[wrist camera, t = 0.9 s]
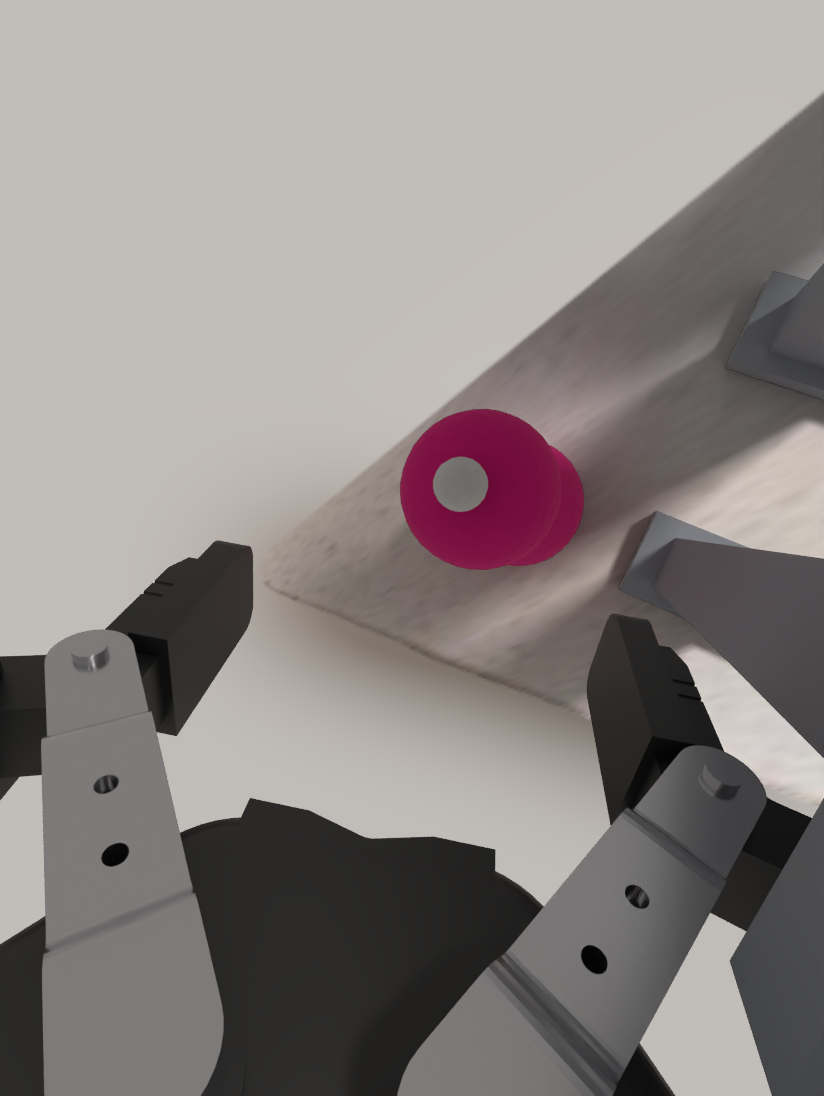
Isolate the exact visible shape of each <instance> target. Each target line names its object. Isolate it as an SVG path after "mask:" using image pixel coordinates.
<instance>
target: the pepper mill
mask: <svg viewBox="0 0 824 1096" xmlns="http://www.w3.org/2000/svg"><path fill="white" fill-rule="evenodd" d="M400 496H401V505H402V508H403V512H404V515H405V519H406V522H407V524H408V526H409V527H410V529H411V531H412V533H413V535H414V536H415V537H416V538H417V540H418V541H419V542H420V544H421V545H422V546H424V547H425V548H426V549H427V550H428V551H429V552H431V553H432V554H433V555H434V556H436V557H438V558H439V559H441V560H443V561H445V562H447V563H450V564H452V565H454V566H457V567H462V568H466V569H478V570H487V569H493V568H498V567H502V566H506V565H512V566H526V565H531V564H536V563H539V562H542V561H545V560H547V559H548V558H550V557H552V556H554V555H555V554H557V553H558V552H559V551H561V550H562V549H563V548H564V547H565V546H566V545H567V544H568V543H569V541H570V540H571V539H572V537H573V536H574V535H575V533H576V531H577V529H578V527H579V525H580V521H581V518H582V515H583V508H584V493H583V488H582V483H581V481H580V478H579V475H578V473H577V472H576V470H575V468H574V467H573V465H572V463H571V462H570V461H569V460H568V459H567V458H566V457H565V456H564V455H563V454H562V453H561V452H559V451H558V450H557V449H555V448H554V447H552V446H550V445H548V443H547V442H546V441H545V439H544V438H543V437H542V436H541V435H540V434H539V433H538V432H537V431H536V430H535V429H534V428H533V427H532V426H530V425H529V424H528V423H526V422H525V421H523V420H521V419H520V418H518V417H515V416H513V415H510V414H507V413H504V412H501V411H497V410H490V409H474V410H468V411H463V412H459V413H456V414H453V415H450V416H448V417H445V418H443V419H442V420H440V421H439V422H437V423H435V424H434V425H432V426H431V427H430V428H429V429H428V430H427V431H426V432H425V433H424V434H423V435H422V436H421V437H420V438H419V440H418V441H417V442H416V443H415V445H414V446H413V448H412V450H411V452H410V454H409V456H408V458H407V460H406V463H405V466H404V469H403V472H402V478H401V483H400Z"/></svg>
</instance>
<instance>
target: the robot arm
mask: <svg viewBox="0 0 824 1096" xmlns="http://www.w3.org/2000/svg"><path fill="white" fill-rule="evenodd" d="M252 610H253V554H252V549H251V547H250V546H245V545H239V544H234V543H229V542H223V541H215V542H214V543H213V544H212V545H211V546H210V547H209V548H208V549H207V550H206V551H205V552H204V553H203V554H202V555H201V556H200V557H199V558H198V559H195V558H190V557H189V558H187V559H185V560H183V561H181V562H178V563H176V564H174V565H172V566H170V567H168V568H167V569H166V570H165V571H164V572H163V573H162V574H161V575H160V576H159V577H158V578H157V579H156V580H155V583H152V584H151V585H150V586H149V587H148V588H147V589H146V590H145V591H144V594H141V595H140V596H139V597H138V598H137V599H136V600H135V601H134V602H133V603H132V604H130V605H129V607H127V608H126V609H125V610H124V611H123V612H122V613H121V614H120V615H119V616H118V617H117V618H116V619H115V620H114V621H113V622H112V623H111V624H110V625H109V626H108V627H107V628H106V629H105V630H91V631H86V632H81V633H77V634H75V635H72V636H69V637H67V638H65V639H63V640H62V641H60V642H58V643H57V644H56V645H54V646H53V647H52V648H51V649H50V651H49V652H48V654H47V655H35V656H7V657H6V656H4V657H0V800H1V799H2V797H3V796H4V795H5V794H6V793H7V791H8V790H9V789H10V788H11V786H12V785H13V784H14V783H15V781H16V780H17V779H18V778H19V777H21V776H34V775H42V799H43V838H44V873H45V874H44V877H45V913H46V916H45V917H43V918H41V919H40V920H38V921H37V922H35V923H33V924H32V925H30V926H29V927H27V928H25V929H24V930H22V931H21V932H19V933H18V934H16V935H14V936H13V937H11V938H10V939H8V940H7V941H5V942H3V943H2V944H0V1096H675V1095H674V1094H673V1092H672V1090H671V1089H670V1087H669V1086H668V1084H667V1083H666V1081H665V1080H664V1078H663V1077H662V1075H661V1074H660V1072H659V1071H658V1070H657V1068H656V1067H655V1065H654V1064H653V1062H652V1061H651V1059H650V1058H649V1056H648V1055H647V1053H646V1052H645V1051H644V1049H643V1047H642V1046H641V1045H640V1041H641V1039H642V1037H643V1035H644V1033H645V1032H646V1030H647V1028H648V1026H649V1024H650V1022H651V1020H652V1019H653V1017H654V1015H655V1013H656V1011H657V1009H658V1008H659V1006H660V1004H661V1002H662V1000H663V998H664V997H665V995H666V993H667V991H668V989H669V987H670V985H671V984H672V982H673V980H674V978H675V976H676V974H677V972H678V971H679V969H680V967H681V965H682V963H683V961H684V960H685V958H686V956H687V954H688V952H689V950H690V949H691V947H692V945H693V943H694V941H695V939H696V938H697V936H698V934H699V932H700V930H701V928H702V926H703V925H704V923H705V921H706V919H707V917H708V915H709V914H710V913H712V914H714V915H716V916H718V917H720V918H722V919H724V920H726V921H727V922H730V923H731V924H733V925H735V926H737V927H739V928H741V929H743V930H745V931H747V930H748V928H749V927H750V925H751V923H752V921H753V920H754V918H755V916H756V915H757V913H758V911H759V909H760V908H761V906H762V904H763V902H764V901H765V899H766V897H767V896H768V894H769V892H770V890H771V889H772V887H773V885H774V883H775V882H776V880H777V878H778V877H779V875H780V873H781V871H782V870H783V868H784V866H785V864H786V863H787V861H788V859H789V858H790V856H791V854H792V852H793V851H794V849H795V847H796V845H797V844H798V842H799V840H800V839H801V837H802V835H803V833H804V832H805V830H806V828H807V826H808V825H809V823H810V821H811V820H812V818H811V817H808V816H806V815H804V814H801V813H799V812H797V811H795V810H792V809H790V808H788V807H785V806H783V805H781V804H779V803H776V802H774V801H772V800H770V799H769V798H767V797H766V792H765V789H764V787H763V785H762V783H761V782H760V780H759V779H758V777H757V776H756V775H755V774H754V773H753V772H752V771H751V770H750V769H749V768H748V767H747V766H746V765H745V764H744V763H742V762H741V761H739V760H738V759H737V758H735V757H733V756H731V755H730V754H728V753H726V752H724V750H723V748H722V745H721V743H720V741H719V738H718V736H717V734H716V731H715V729H714V727H713V724H712V722H711V720H710V717H709V715H708V713H707V710H706V708H705V706H704V703H703V702H701V697H700V694H699V692H698V690H697V687H694V684H695V683H694V680H693V678H692V676H691V673H690V671H689V669H688V666H687V665H686V664H685V663H684V661H683V660H682V659H681V658H680V657H679V656H678V655H677V654H676V653H675V652H674V651H673V650H672V649H671V648H670V647H665V646H659V645H658V642H657V639H656V637H655V634H654V631H653V629H652V626H651V624H650V622H649V621H648V620H645V619H639V618H634V617H628V616H623V615H617V614H612V615H610V617H609V618H608V620H607V623H606V625H605V628H604V631H603V634H602V637H601V639H600V642H599V645H598V648H597V651H596V654H595V656H594V659H593V662H592V665H591V668H590V671H589V675H588V681H587V699H588V704H589V710H590V715H591V721H592V726H593V731H594V737H595V742H596V747H597V753H598V758H599V764H600V770H601V775H602V780H603V786H604V791H605V796H606V803H607V808H608V814H609V818H610V825H611V827H610V828H609V829H608V830H607V831H606V833H605V834H604V835H603V836H602V837H601V838H600V840H599V841H598V842H597V843H596V845H595V846H594V847H593V848H592V849H591V851H590V852H589V853H588V854H587V855H586V857H585V858H584V859H583V860H582V861H581V863H580V864H579V865H578V866H577V867H576V869H575V870H574V871H573V873H572V874H571V875H570V876H569V877H568V878H567V879H566V881H565V882H564V883H563V884H562V886H561V887H560V888H559V889H558V890H557V892H556V893H555V894H554V895H553V897H552V898H551V899H550V900H549V901H548V902H547V904H546V905H545V906H543V905H542V904H540V902H538V901H537V900H536V899H535V898H534V897H533V896H532V895H531V894H530V893H529V892H527V891H526V890H525V889H523V888H522V887H521V886H520V885H518V884H517V883H515V882H513V881H512V880H510V879H509V878H507V877H506V876H504V875H502V874H500V873H498V872H496V871H495V850H494V849H490V848H485V847H480V846H476V845H471V844H466V843H461V842H456V841H451V840H447V839H442V838H437V837H411V838H382V839H370V838H365V837H363V836H360V835H358V834H356V833H354V832H352V831H350V830H348V829H346V828H344V827H342V826H340V825H338V824H336V823H334V822H332V821H330V820H327V819H325V818H323V817H321V816H319V815H317V814H315V813H313V812H311V811H309V810H304V809H299V808H295V807H290V806H285V805H280V804H275V803H270V802H266V801H261V800H256V799H252V798H250V800H249V801H248V804H247V806H246V808H245V810H244V812H243V815H242V817H241V818H230V819H223V820H217V821H213V822H209V823H205V824H201V825H199V826H196V827H193V828H191V829H188V830H186V831H184V832H181V833H180V832H179V828H178V824H177V820H176V815H175V811H174V807H173V802H172V798H171V793H170V789H169V785H168V780H167V776H166V772H165V767H164V763H163V759H162V754H161V751H160V746H159V742H158V737H157V733H156V732H160V733H165V734H169V735H174V736H177V735H178V733H179V732H180V730H181V728H182V727H183V725H184V724H185V722H186V721H187V719H188V718H189V716H190V715H191V713H192V712H193V710H194V709H195V707H196V706H197V704H198V703H199V701H200V700H201V698H202V696H203V695H204V694H205V692H206V690H207V689H208V687H209V686H210V684H211V683H212V681H213V680H214V678H215V677H216V675H217V674H218V672H219V671H220V669H221V668H222V666H223V665H224V663H225V662H226V660H227V658H228V657H229V655H230V654H231V652H232V651H233V649H234V648H235V646H236V645H237V643H238V642H239V640H240V639H241V637H242V636H243V634H244V633H245V631H246V629H247V627H248V625H249V622H250V619H251V615H252Z"/></svg>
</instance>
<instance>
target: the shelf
mask: <svg viewBox="0 0 824 1096" xmlns="http://www.w3.org/2000/svg"><path fill="white" fill-rule="evenodd" d="M725 368H727V369H730V370H733V371H736V372H740V373H743V374H746V375H749V376H752V377H755V378H758V379H761V380H764V381H767V382H770V383H773V384H776V385H780V386H783V387H786V388H789V389H792V390H795V391H798V392H801V393H804V394H807V395H810V396H813V397H816V398H819V399H823V400H824V264H823V265H822V266H821V267H820V269H819V270H818V271H817V272H816V273H815V274H814V275H813V277H812V278H811V279H810V280H809V281H808V280H804V279H801V278H797V277H794V276H790V275H786V274H783V273H779V272H775V271H773V273H772V274H771V276H770V277H769V279H768V280H767V281H766V283H765V285H764V287H763V289H762V291H761V293H760V295H759V298H758V300H757V302H756V304H755V306H754V308H753V310H752V312H751V314H750V316H749V318H748V320H747V322H746V324H745V327H744V329H743V331H742V333H741V335H740V337H739V339H738V341H737V343H736V345H735V347H734V349H733V351H732V353H731V355H730V358H729V360H728V362H727V364H726V366H725ZM618 588H619V590H621V591H623V592H625V593H628V594H630V595H632V596H634V597H637V598H639V599H641V600H643V601H646V602H648V603H650V604H652V605H655V606H657V607H659V608H662V609H664V610H666V611H668V612H671V613H673V614H675V615H677V616H680V617H682V618H684V619H686V620H687V621H688V622H689V623H690V624H691V625H692V626H693V627H694V628H695V629H696V630H697V631H698V632H699V633H700V634H701V635H702V636H703V637H704V638H705V639H706V640H707V641H708V642H709V643H710V644H711V645H712V646H713V647H714V648H715V649H716V650H717V651H718V652H719V653H720V654H721V655H722V656H723V657H724V658H725V659H726V660H727V661H728V662H729V663H730V664H731V665H732V666H733V667H734V668H735V669H736V670H737V671H738V672H739V673H740V674H741V675H742V676H743V677H744V678H745V679H746V680H747V681H748V682H749V683H750V684H751V685H752V686H753V687H754V688H755V689H756V690H757V691H758V692H759V693H760V694H761V696H762V697H763V698H764V699H765V700H766V701H767V702H768V703H769V704H770V705H771V706H772V707H773V708H774V709H775V710H776V711H777V712H778V713H779V714H780V715H781V716H782V717H783V718H784V719H785V720H786V721H787V722H788V723H789V724H790V725H791V726H792V727H793V728H794V729H795V730H796V731H797V732H798V733H799V734H800V735H801V736H802V737H803V738H804V739H805V740H806V741H807V742H808V743H809V744H810V745H811V746H812V747H813V748H814V749H815V750H816V751H817V752H818V753H819V754H820V755H821V756H822V757H823V758H824V559H821V558H814V557H807V556H800V555H793V554H786V553H779V552H772V551H765V550H757V549H750V548H748V547H745V546H743V545H740V544H738V543H735V542H733V541H730V540H728V539H725V538H723V537H720V536H718V535H715V534H713V533H710V532H708V531H705V530H703V529H700V528H698V527H695V526H693V525H690V524H688V523H685V522H683V521H680V520H678V519H675V518H673V517H670V516H668V515H665V514H663V513H660V512H658V511H657V512H655V513H654V515H653V517H652V519H651V521H650V523H649V525H648V527H647V529H646V531H645V533H644V535H643V538H642V540H641V542H640V544H639V546H638V548H637V550H636V552H635V554H634V556H633V558H632V560H631V562H630V564H629V567H628V569H627V571H626V573H625V575H624V577H623V579H622V581H621V583H620V585H619V587H618ZM730 963H731V966H732V970H733V973H734V976H735V979H736V982H737V986H738V989H739V992H740V995H741V998H742V1001H743V1005H744V1007H745V1011H746V1014H747V1017H748V1020H749V1024H750V1027H751V1030H752V1033H753V1037H754V1040H755V1043H756V1046H757V1049H758V1053H759V1056H760V1059H761V1062H762V1065H763V1068H764V1072H765V1075H766V1078H767V1081H768V1084H769V1087H770V1091H771V1094H772V1096H824V799H823V801H822V802H821V804H820V806H819V807H818V809H817V811H816V813H815V814H814V816H813V818H812V820H811V821H810V823H809V825H808V826H807V828H806V830H805V832H804V833H803V835H802V837H801V839H800V840H799V842H798V844H797V845H796V847H795V849H794V851H793V852H792V854H791V856H790V858H789V859H788V861H787V863H786V864H785V866H784V868H783V870H782V871H781V873H780V875H779V877H778V878H777V880H776V882H775V883H774V885H773V887H772V889H771V890H770V892H769V894H768V896H767V897H766V899H765V901H764V902H763V904H762V906H761V908H760V909H759V911H758V913H757V915H756V916H755V918H754V920H753V921H752V923H751V925H750V927H749V928H748V930H747V932H746V934H745V935H744V937H743V939H742V941H741V943H740V944H739V946H738V947H737V949H736V951H735V953H734V954H733V956H732V958H731V960H730Z"/></svg>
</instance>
